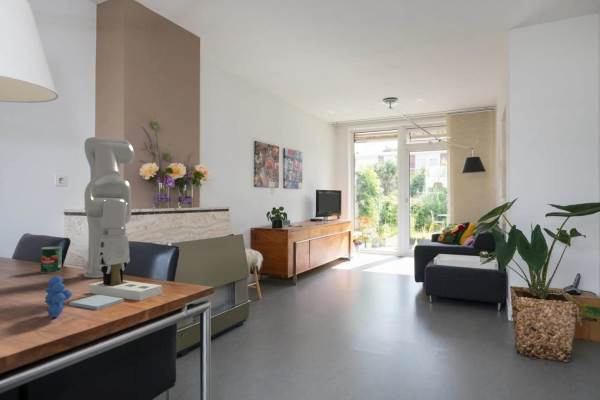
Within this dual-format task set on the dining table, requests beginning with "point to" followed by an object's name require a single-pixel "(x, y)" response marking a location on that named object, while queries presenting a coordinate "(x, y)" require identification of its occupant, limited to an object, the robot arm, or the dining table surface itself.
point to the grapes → (56, 296)
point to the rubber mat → (96, 302)
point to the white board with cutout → (127, 290)
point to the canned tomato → (51, 259)
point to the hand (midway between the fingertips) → (113, 282)
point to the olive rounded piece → (115, 275)
